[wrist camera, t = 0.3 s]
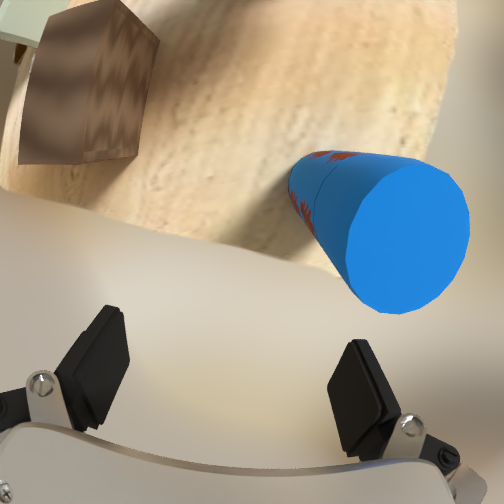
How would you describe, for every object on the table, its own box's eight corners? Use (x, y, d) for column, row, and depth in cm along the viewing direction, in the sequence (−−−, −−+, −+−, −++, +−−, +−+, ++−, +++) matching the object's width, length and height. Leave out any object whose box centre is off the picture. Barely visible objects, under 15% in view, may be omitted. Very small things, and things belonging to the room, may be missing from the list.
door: (64, -11, 21) (22, -35, 6) (78, -16, 21) (36, -44, 6) (39, 51, 26) (-15, 38, 12) (52, 46, 27) (-3, 30, 12)
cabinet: (57, 55, 28) (0, 39, 13) (159, 40, 29) (115, -4, 14) (41, 153, 35) (-23, 166, 20) (137, 155, 36) (77, 164, 21)
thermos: (277, 161, 37) (323, 185, 14) (345, 142, 36) (463, 147, 12) (299, 230, 41) (355, 337, 17) (362, 210, 39) (468, 285, 16)
